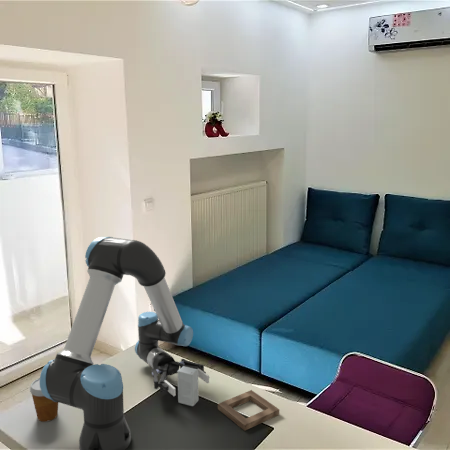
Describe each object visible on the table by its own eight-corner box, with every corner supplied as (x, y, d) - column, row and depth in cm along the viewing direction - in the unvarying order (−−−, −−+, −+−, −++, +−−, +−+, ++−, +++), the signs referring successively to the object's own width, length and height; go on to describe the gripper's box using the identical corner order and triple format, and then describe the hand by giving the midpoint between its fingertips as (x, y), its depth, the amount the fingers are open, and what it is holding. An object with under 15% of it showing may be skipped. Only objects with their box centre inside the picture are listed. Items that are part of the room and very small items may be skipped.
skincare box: (198, 400, 171) (198, 369, 169) (193, 406, 168) (192, 374, 165) (183, 396, 174) (183, 365, 171) (177, 402, 170) (176, 371, 167)
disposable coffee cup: (30, 426, 156) (27, 392, 154) (33, 410, 165) (30, 377, 163) (62, 422, 159) (59, 388, 156) (63, 405, 168) (61, 373, 165)
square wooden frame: (244, 430, 155) (244, 425, 154) (217, 409, 166) (217, 403, 166) (279, 414, 163) (279, 409, 163) (251, 395, 175) (251, 390, 174)
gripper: (189, 361, 192) (221, 384, 176) (131, 380, 178) (159, 408, 161) (189, 343, 191) (221, 365, 174) (130, 361, 176) (159, 387, 160)
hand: (191, 385), depth 168 cm, fingers open, 13 cm apart
